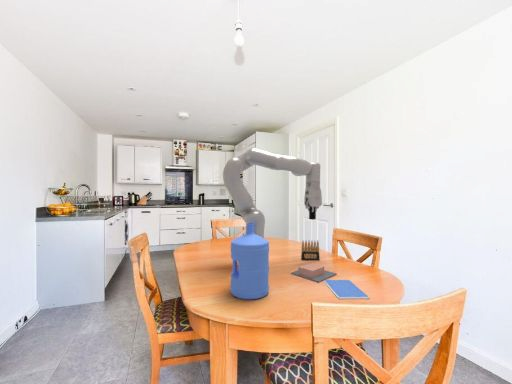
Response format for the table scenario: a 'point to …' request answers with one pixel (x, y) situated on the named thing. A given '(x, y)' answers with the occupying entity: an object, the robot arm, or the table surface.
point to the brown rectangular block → (311, 270)
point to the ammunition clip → (314, 252)
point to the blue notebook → (345, 289)
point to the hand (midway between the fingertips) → (312, 219)
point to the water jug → (250, 265)
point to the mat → (318, 278)
